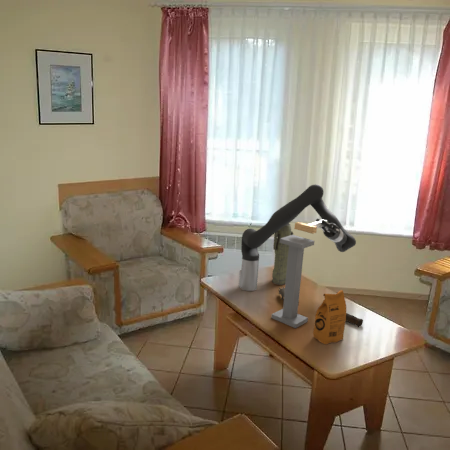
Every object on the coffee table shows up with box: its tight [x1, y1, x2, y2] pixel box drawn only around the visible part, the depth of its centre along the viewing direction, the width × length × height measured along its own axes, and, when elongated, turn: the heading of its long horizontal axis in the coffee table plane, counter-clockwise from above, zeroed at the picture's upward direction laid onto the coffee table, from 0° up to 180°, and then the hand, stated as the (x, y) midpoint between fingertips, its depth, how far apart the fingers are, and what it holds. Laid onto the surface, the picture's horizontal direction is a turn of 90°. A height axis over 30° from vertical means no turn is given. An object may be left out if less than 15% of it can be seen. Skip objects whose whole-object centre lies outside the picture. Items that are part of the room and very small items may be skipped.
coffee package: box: [312, 289, 347, 345], centre depth 203 cm, size 10×12×22 cm
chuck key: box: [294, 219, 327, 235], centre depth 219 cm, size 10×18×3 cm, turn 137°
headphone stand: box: [270, 234, 315, 329], centre depth 216 cm, size 14×10×40 cm
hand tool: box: [345, 312, 364, 328], centre depth 224 cm, size 19×4×5 cm, turn 38°
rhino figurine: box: [278, 286, 285, 301], centre depth 243 cm, size 4×14×6 cm, turn 20°
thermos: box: [271, 223, 294, 286], centre depth 263 cm, size 9×12×35 cm
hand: (319, 221), depth 222 cm, fingers closed on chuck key, 2 cm apart
